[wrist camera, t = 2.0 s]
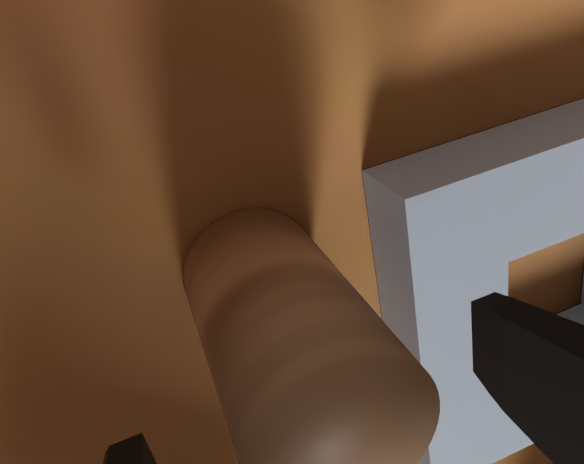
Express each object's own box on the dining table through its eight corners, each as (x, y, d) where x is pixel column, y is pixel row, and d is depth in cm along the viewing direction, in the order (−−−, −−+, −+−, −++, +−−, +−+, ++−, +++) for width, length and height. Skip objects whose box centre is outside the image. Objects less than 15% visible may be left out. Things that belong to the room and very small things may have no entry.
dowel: (321, 300, 17) (445, 467, 11) (204, 344, 16) (269, 550, 10) (299, 190, 15) (434, 321, 9) (165, 233, 15) (218, 408, 9)
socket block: (633, 335, 24) (686, 370, 22) (398, 441, 21) (433, 491, 19) (674, 69, 18) (752, 80, 16) (361, 170, 16) (405, 199, 14)
